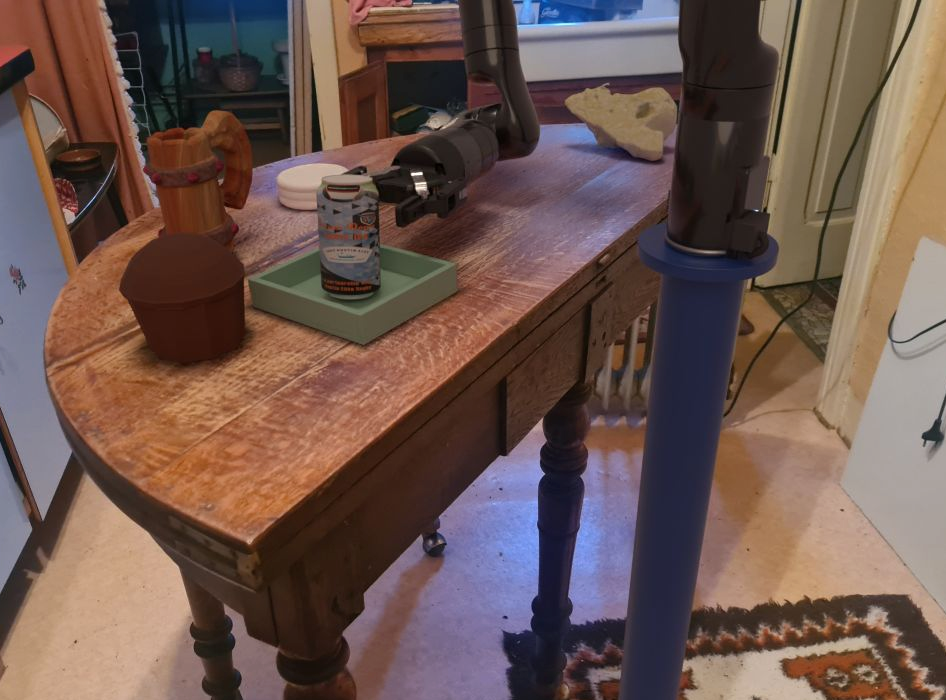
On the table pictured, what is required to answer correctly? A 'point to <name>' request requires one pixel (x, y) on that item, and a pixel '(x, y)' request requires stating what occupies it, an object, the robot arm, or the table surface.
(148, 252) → the muffin
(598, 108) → the cheese
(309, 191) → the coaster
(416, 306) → the tray
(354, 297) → the beverage can
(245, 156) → the mug
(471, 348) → the table surface
